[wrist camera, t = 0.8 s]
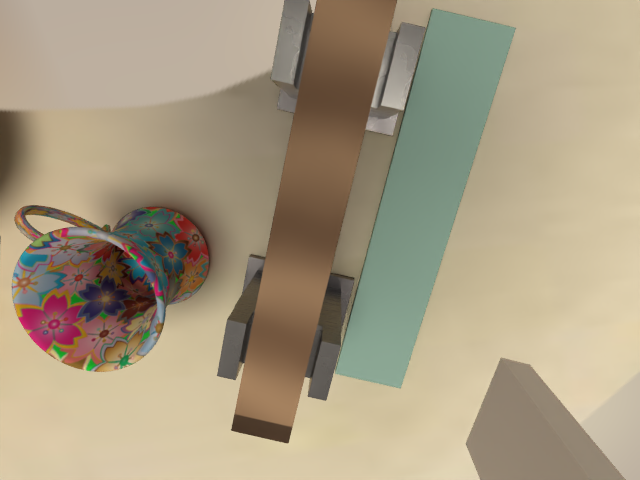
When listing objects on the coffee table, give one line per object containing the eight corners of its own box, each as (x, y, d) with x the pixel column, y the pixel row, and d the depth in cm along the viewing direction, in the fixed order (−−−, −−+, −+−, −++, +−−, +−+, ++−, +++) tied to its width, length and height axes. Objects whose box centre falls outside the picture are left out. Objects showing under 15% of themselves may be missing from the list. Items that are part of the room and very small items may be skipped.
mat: (431, 10, 28) (433, 8, 28) (512, 29, 28) (515, 28, 28) (335, 370, 36) (335, 373, 35) (399, 385, 36) (400, 388, 35)
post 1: (293, 25, 29) (270, -33, 19) (413, 53, 29) (450, 10, 19) (278, 109, 30) (249, 94, 21) (391, 135, 30) (415, 133, 21)
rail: (331, -26, 21) (329, -64, 17) (395, -11, 21) (408, -45, 17) (246, 389, 27) (231, 430, 24) (295, 400, 27) (288, 443, 24)
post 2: (250, 254, 33) (214, 301, 24) (354, 278, 33) (360, 334, 24) (238, 317, 35) (200, 386, 25) (337, 340, 35) (337, 417, 25)
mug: (239, 255, 33) (195, 307, 23) (170, 323, 35) (100, 399, 25) (130, 152, 32) (31, 158, 21) (64, 230, 34) (-57, 269, 23)
